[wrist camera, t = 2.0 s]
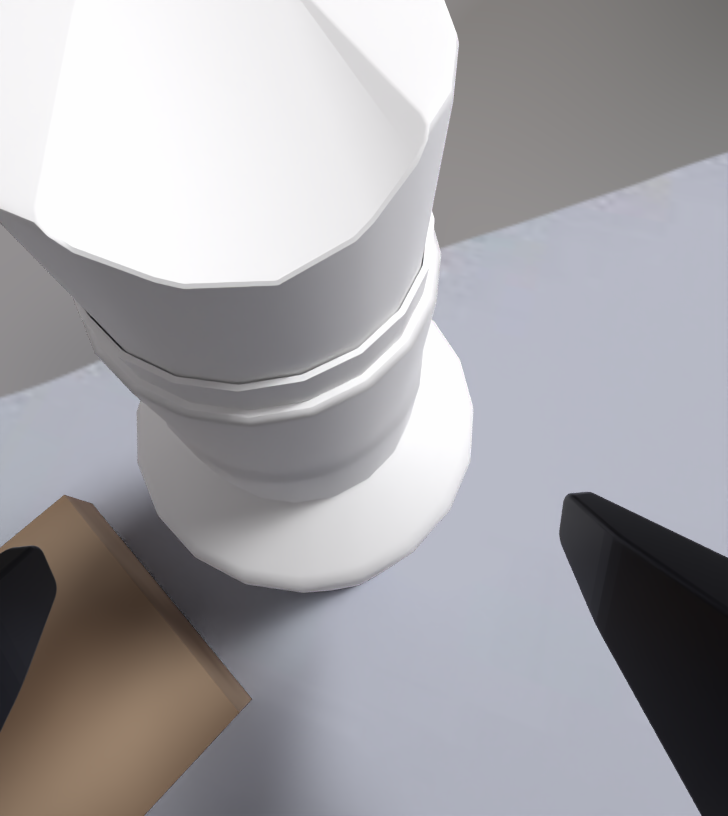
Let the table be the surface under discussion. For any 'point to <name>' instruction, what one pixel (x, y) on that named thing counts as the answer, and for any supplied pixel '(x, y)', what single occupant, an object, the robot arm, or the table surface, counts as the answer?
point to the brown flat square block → (107, 682)
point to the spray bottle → (253, 260)
